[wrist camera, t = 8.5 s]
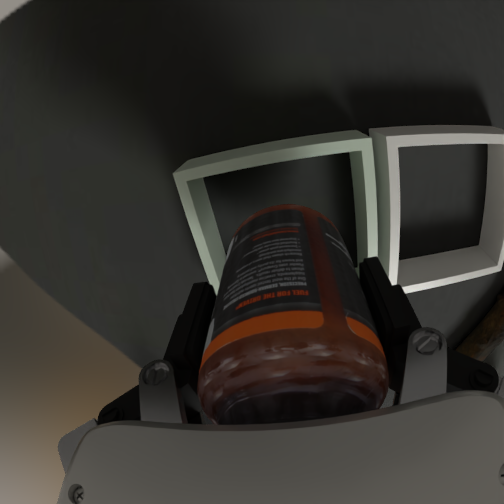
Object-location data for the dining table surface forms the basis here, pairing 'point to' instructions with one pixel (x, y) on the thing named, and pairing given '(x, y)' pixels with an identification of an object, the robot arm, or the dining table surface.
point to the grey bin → (388, 207)
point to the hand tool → (486, 333)
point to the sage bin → (267, 153)
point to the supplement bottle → (290, 327)
